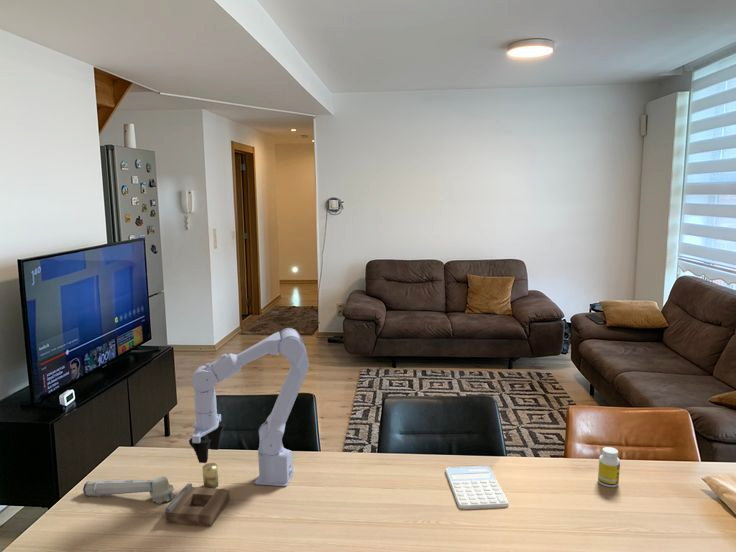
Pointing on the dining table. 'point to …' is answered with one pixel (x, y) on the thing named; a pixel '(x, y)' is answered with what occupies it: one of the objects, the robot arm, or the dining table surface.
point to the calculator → (476, 487)
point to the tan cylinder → (210, 475)
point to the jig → (199, 516)
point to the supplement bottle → (609, 467)
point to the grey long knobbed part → (131, 488)
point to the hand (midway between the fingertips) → (209, 455)
